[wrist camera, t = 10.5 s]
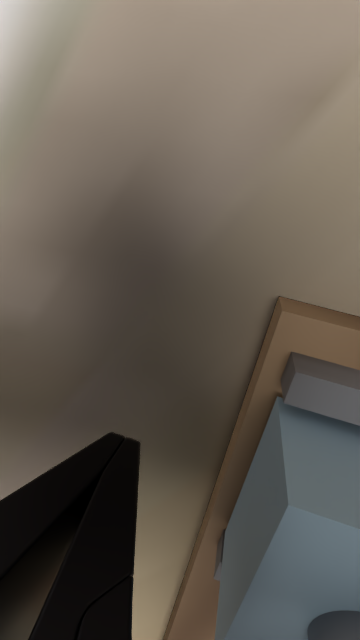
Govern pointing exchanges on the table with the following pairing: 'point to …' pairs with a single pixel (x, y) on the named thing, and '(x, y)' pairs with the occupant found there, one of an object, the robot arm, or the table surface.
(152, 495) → the table surface
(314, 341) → the board
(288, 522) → the latch
